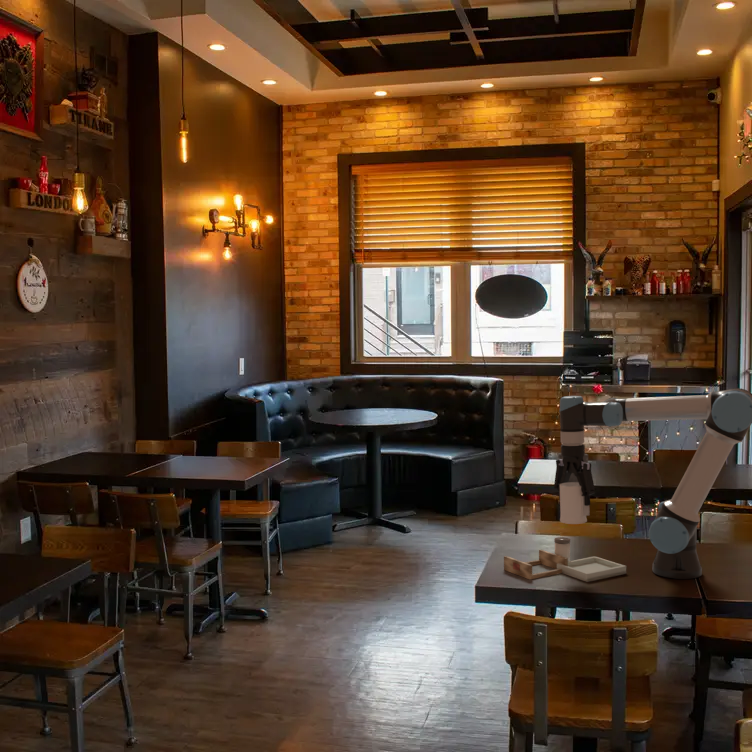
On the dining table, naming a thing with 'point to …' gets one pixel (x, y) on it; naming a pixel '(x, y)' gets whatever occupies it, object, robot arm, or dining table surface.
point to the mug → (571, 503)
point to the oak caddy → (526, 567)
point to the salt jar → (562, 547)
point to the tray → (592, 568)
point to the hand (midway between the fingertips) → (574, 513)
